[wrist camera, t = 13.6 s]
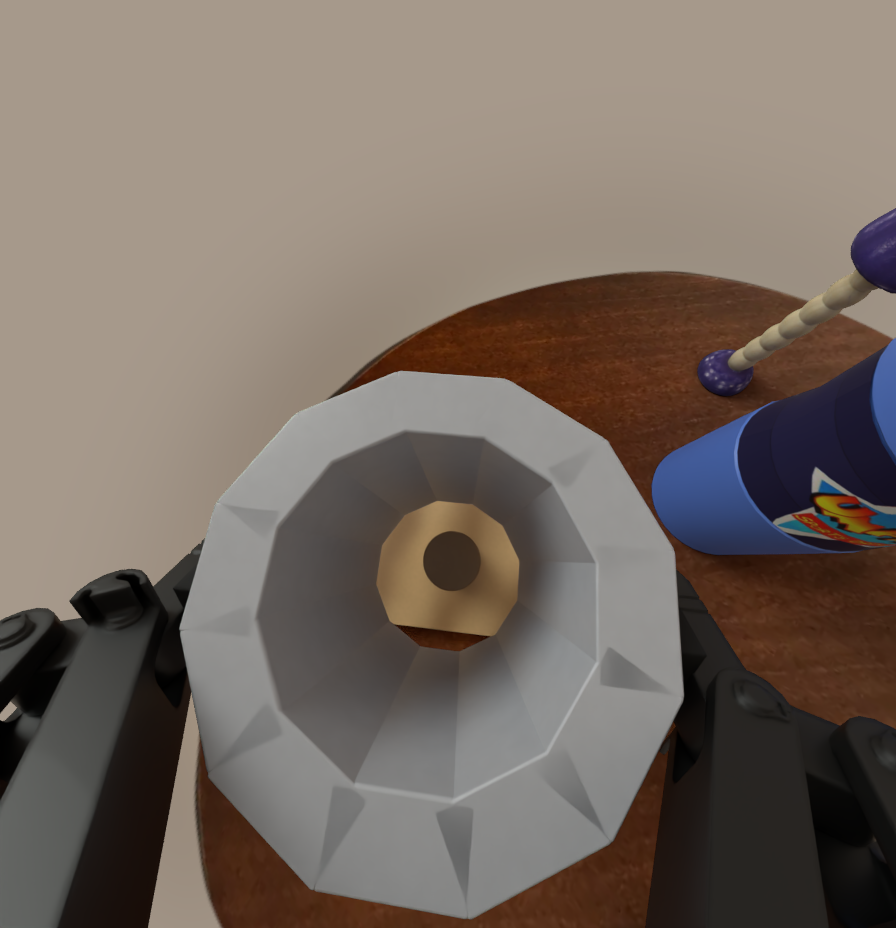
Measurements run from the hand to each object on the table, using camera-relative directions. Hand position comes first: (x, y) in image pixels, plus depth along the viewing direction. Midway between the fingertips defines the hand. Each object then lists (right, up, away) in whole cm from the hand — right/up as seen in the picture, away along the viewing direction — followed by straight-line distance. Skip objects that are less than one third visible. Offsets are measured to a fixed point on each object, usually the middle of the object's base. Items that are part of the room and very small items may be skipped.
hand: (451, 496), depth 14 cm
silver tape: (0, -4, +3) cm, 5 cm away
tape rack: (0, -6, +14) cm, 15 cm away
